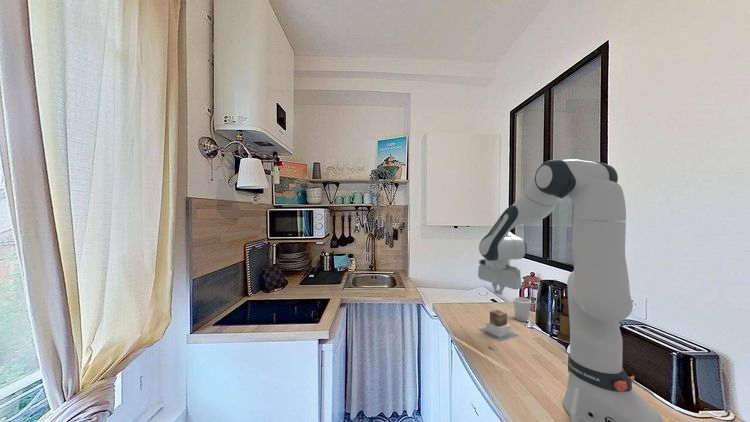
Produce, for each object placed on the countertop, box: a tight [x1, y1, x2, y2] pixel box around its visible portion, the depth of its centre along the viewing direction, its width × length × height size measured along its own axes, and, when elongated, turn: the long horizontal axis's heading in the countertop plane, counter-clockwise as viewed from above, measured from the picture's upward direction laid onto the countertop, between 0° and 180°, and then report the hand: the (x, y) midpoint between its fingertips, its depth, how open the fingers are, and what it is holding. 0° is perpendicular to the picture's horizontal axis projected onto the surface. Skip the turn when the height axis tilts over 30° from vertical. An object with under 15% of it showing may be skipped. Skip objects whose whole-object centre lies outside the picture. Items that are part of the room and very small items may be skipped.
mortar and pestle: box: [556, 297, 570, 343], centre depth 115 cm, size 7×6×18 cm
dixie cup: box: [512, 296, 532, 322], centre depth 137 cm, size 8×8×10 cm
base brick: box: [485, 320, 511, 337], centre depth 120 cm, size 7×7×4 cm
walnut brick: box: [489, 309, 508, 327], centre depth 119 cm, size 5×5×5 cm
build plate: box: [477, 327, 520, 342], centre depth 120 cm, size 12×12×1 cm
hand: (498, 294), depth 120 cm, fingers closed
